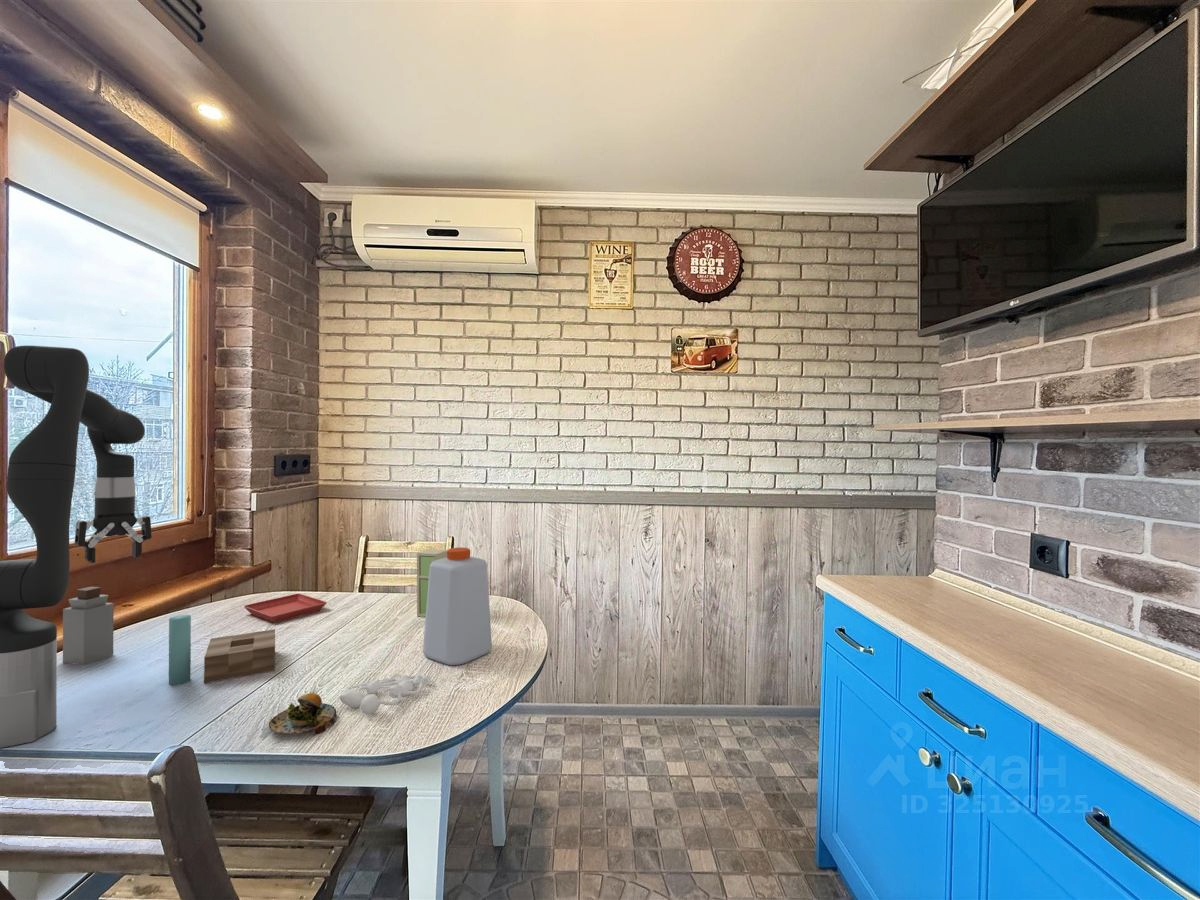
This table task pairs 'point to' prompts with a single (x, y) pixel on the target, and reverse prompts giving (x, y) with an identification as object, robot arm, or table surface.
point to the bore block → (239, 656)
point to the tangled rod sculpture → (371, 701)
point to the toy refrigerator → (425, 576)
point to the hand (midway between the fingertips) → (114, 559)
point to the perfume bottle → (88, 627)
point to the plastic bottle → (457, 609)
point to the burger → (304, 716)
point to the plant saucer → (285, 607)
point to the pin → (179, 649)
